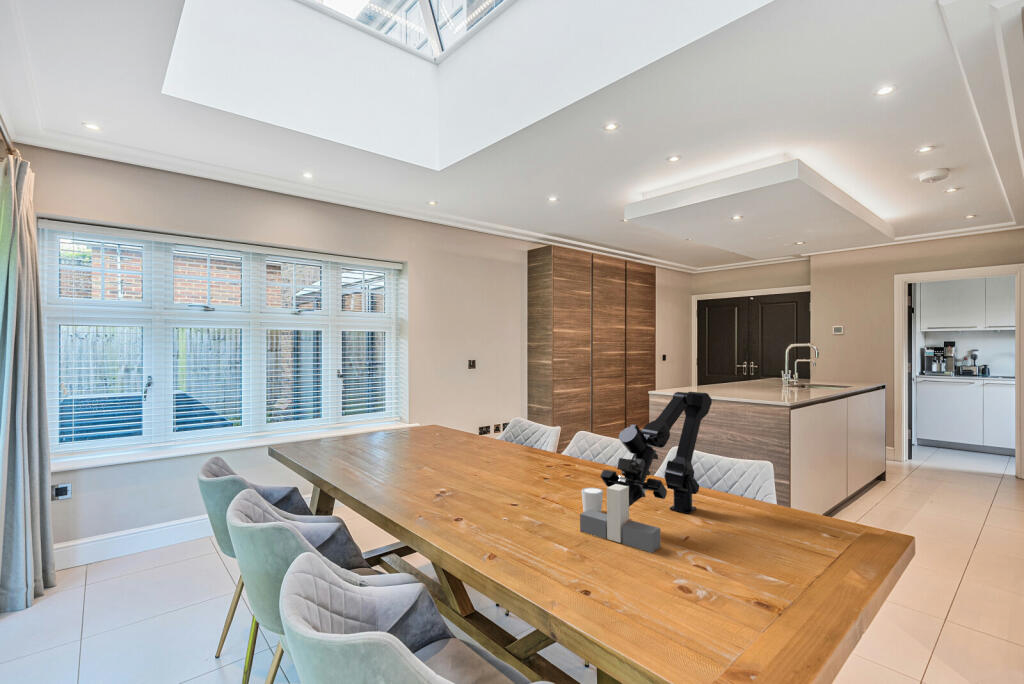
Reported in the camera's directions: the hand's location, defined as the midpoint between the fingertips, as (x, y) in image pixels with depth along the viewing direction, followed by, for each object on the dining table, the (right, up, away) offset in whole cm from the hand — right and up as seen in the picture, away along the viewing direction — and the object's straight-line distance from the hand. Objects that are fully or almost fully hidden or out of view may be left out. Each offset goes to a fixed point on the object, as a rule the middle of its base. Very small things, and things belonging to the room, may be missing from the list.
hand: (622, 509), depth 134 cm
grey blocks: (-2, -7, -2) cm, 8 cm away
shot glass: (-5, -8, +19) cm, 22 cm away
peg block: (-2, -7, -2) cm, 8 cm away
